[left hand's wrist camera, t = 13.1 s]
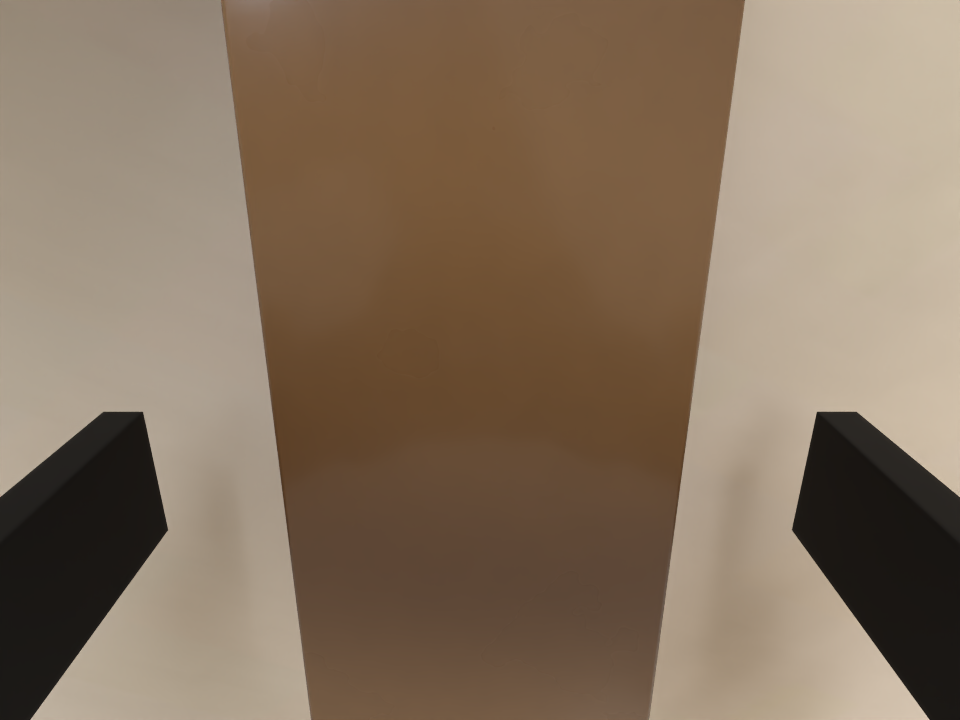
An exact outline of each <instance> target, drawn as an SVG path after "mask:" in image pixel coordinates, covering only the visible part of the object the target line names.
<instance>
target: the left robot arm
mask: <svg viewBox="0 0 960 720" xmlns="http://www.w3.org/2000/svg"><path fill="white" fill-rule="evenodd" d="M167 531H168V528H167V523H166V518H165V514H164V509H163V504H162V499H161V495H160V490H159V485H158V481H157V476H156V471H155V467H154V462H153V457H152V452H151V448H150V443H149V438H148V434H147V429H146V424H145V419H144V415H143V412H103V413H102V414H100V415H99V416H98V417H97V418H96V419H94V420H93V421H92V422H91V423H89V424H88V425H87V426H86V427H85V428H83V429H82V430H81V431H80V432H79V433H77V434H76V435H75V436H74V437H73V438H71V439H70V440H69V441H68V442H67V443H65V444H64V445H63V446H62V447H60V448H59V449H58V450H57V451H56V452H54V453H53V454H52V455H51V456H50V457H48V458H47V459H46V460H45V461H44V462H42V463H41V464H40V465H39V466H38V467H36V468H35V469H34V470H33V471H31V472H30V473H29V474H28V475H27V476H25V477H24V478H23V479H22V480H21V481H19V482H18V483H17V484H16V485H15V486H13V487H12V488H11V489H10V490H9V491H7V492H6V493H5V494H4V495H2V496H1V497H0V720H30V719H31V718H32V717H33V715H34V714H35V713H36V711H37V710H38V708H39V707H40V706H41V704H42V703H43V702H44V700H45V699H46V697H47V696H48V695H49V693H50V692H51V691H52V689H53V688H54V686H55V685H56V684H57V682H58V681H59V679H60V678H61V677H62V675H63V674H64V673H65V671H66V670H67V668H68V667H69V666H70V664H71V663H72V662H73V660H74V659H75V657H76V656H77V655H78V653H79V652H80V651H81V649H82V648H83V646H84V645H85V644H86V642H87V641H88V640H89V638H90V637H91V635H92V634H93V633H94V631H95V630H96V629H97V627H98V626H99V624H100V623H101V622H102V620H103V619H104V617H105V616H106V615H107V613H108V612H109V611H110V609H111V608H112V606H113V605H114V604H115V602H116V601H117V600H118V598H119V597H120V595H121V594H122V593H123V591H124V590H125V589H126V587H127V586H128V584H129V583H130V582H131V580H132V579H133V578H134V576H135V575H136V573H137V572H138V571H139V569H140V568H141V567H142V565H143V564H144V562H145V561H146V560H147V558H148V557H149V556H150V554H151V553H152V551H153V550H154V549H155V547H156V546H157V544H158V543H159V542H160V540H161V539H162V538H163V536H164V535H165V533H166V532H167ZM792 531H793V532H794V533H795V535H796V536H797V538H798V539H799V540H800V542H801V543H802V544H803V546H804V547H805V549H806V550H807V551H808V553H809V554H810V556H811V557H812V558H813V560H814V561H815V562H816V564H817V565H818V567H819V568H820V569H821V571H822V572H823V573H824V575H825V576H826V578H827V579H828V580H829V582H830V583H831V584H832V586H833V587H834V589H835V590H836V591H837V593H838V594H839V595H840V597H841V598H842V600H843V601H844V602H845V604H846V605H847V606H848V608H849V609H850V611H851V612H852V613H853V615H854V616H855V618H856V619H857V620H858V622H859V623H860V624H861V626H862V627H863V629H864V630H865V631H866V633H867V634H868V635H869V637H870V638H871V640H872V641H873V642H874V644H875V645H876V646H877V648H878V649H879V651H880V652H881V653H882V655H883V656H884V657H885V659H886V660H887V662H888V663H889V664H890V666H891V667H892V668H893V670H894V671H895V673H896V674H897V675H898V677H899V678H900V679H901V681H902V682H903V684H904V685H905V686H906V688H907V689H908V691H909V692H910V693H911V695H912V696H913V697H914V699H915V700H916V702H917V703H918V704H919V706H920V707H921V708H922V710H923V711H924V713H925V714H926V715H927V717H928V718H929V719H930V720H960V497H959V496H958V495H956V494H955V493H954V492H953V491H951V490H950V489H949V488H948V487H947V486H945V485H944V484H943V483H942V482H941V481H939V480H938V479H937V478H936V477H935V476H933V475H932V474H931V473H930V472H929V471H927V470H926V469H925V468H924V467H922V466H921V465H920V464H919V463H918V462H916V461H915V460H914V459H913V458H912V457H910V456H909V455H908V454H907V453H906V452H904V451H903V450H902V449H901V448H900V447H898V446H897V445H896V444H895V443H893V442H892V441H891V440H890V439H889V438H887V437H886V436H885V435H884V434H883V433H881V432H880V431H879V430H878V429H877V428H875V427H874V426H873V425H872V424H871V423H869V422H868V421H867V420H866V419H864V418H863V417H862V416H861V415H860V414H858V413H857V412H817V415H816V419H815V424H814V429H813V434H812V438H811V443H810V448H809V452H808V457H807V462H806V466H805V471H804V476H803V481H802V485H801V490H800V495H799V499H798V504H797V509H796V514H795V518H794V523H793V528H792Z"/></svg>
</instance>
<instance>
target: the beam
mask: <svg viewBox="0 0 960 720" xmlns="http://www.w3.org/2000/svg"><path fill="white" fill-rule="evenodd" d="M744 3H745V0H221V5H222V13H223V21H224V29H225V37H226V45H227V53H228V61H229V69H230V77H231V85H232V93H233V101H234V109H235V117H236V125H237V133H238V141H239V149H240V157H241V165H242V173H243V180H244V188H245V196H246V204H247V212H248V220H249V228H250V236H251V244H252V252H253V260H254V268H255V276H256V284H257V292H258V300H259V308H260V316H261V324H262V332H263V340H264V348H265V356H266V364H267V372H268V380H269V388H270V396H271V404H272V412H273V420H274V427H275V435H276V443H277V451H278V459H279V467H280V475H281V483H282V491H283V499H284V507H285V515H286V523H287V531H288V539H289V547H290V555H291V563H292V571H293V579H294V587H295V595H296V603H297V611H298V619H299V627H300V635H301V643H302V651H303V659H304V667H305V675H306V682H307V690H308V698H309V706H310V714H311V720H649V716H650V709H651V701H652V694H653V686H654V679H655V671H656V664H657V656H658V649H659V641H660V634H661V626H662V619H663V611H664V604H665V596H666V589H667V581H668V574H669V566H670V559H671V551H672V544H673V536H674V529H675V521H676V514H677V506H678V498H679V491H680V483H681V476H682V468H683V461H684V453H685V446H686V438H687V431H688V423H689V416H690V408H691V401H692V393H693V386H694V378H695V371H696V363H697V356H698V348H699V341H700V333H701V326H702V318H703V311H704V303H705V296H706V288H707V281H708V273H709V266H710V258H711V251H712V243H713V236H714V228H715V221H716V213H717V206H718V198H719V191H720V183H721V176H722V168H723V161H724V153H725V146H726V138H727V131H728V123H729V116H730V108H731V101H732V93H733V86H734V78H735V71H736V63H737V56H738V48H739V41H740V33H741V26H742V18H743V11H744Z"/></svg>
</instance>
